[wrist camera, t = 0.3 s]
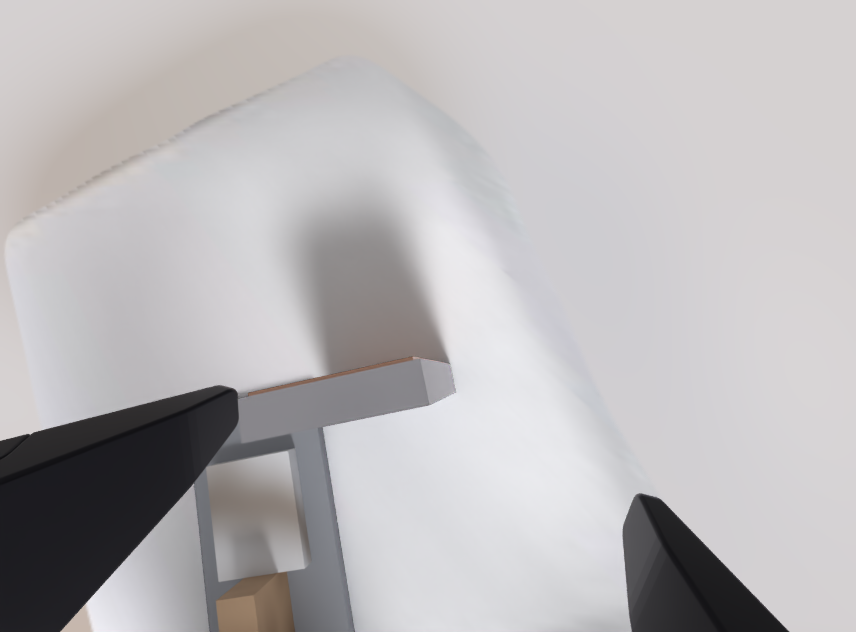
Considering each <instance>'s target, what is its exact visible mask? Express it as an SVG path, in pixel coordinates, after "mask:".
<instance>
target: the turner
mask: <svg viewBox="0 0 856 632" xmlns="http://www.w3.org/2000/svg"><path fill="white" fill-rule="evenodd" d="M206 471H207V480H208V490H209V499H210V508H211V517H212V526H213V536H214V545H215V554H216V563H217V572H218V582H222V581H228V580H235V579H241V578H243V579H242V580H241V581H240V582H238V583H237V584H236V585H235V586H234V587H232V588H231V589H230V590H229V591H227V592H226V593H225V594H224V595H222V596H221V597H220V598H219V599H218V600H216V607H217V616H218V625H219V632H295V627H294V620H293V613H292V605H291V598H290V590H289V583H288V576H287V571H293V570H299V569H305V568H306V567H307V566H308V565H309V564H310V563H311V562H312V560H311V553H310V546H309V539H308V533H307V526H306V519H305V512H304V505H303V498H302V491H301V484H300V478H299V471H298V464H297V457H296V450H295V448H293V449H288V450H283V451H278V452H273V453H268V454H263V455H258V456H253V457H248V458H243V459H238V460H233V461H227V462H222V463H217V464H214V465H211V466H208V467H206Z"/></svg>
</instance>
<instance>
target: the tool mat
mask: <svg viewBox="0 0 856 632" xmlns="http://www.w3.org/2000/svg"><path fill="white" fill-rule="evenodd" d="M293 448H295V450H296V457H297V464H298V471H299V478H300V484H301V491H302V498H303V505H304V512H305V519H306V526H307V533H308V539H309V546H310V553H311V560H312V562H311V563H310V564H309V565H308V566H307V567H306V568H305V569H299V570H293V571H287V576H288V583H289V590H290V598H291V605H292V613H293V620H294V627H295V632H354V626H353V619H352V613H351V607H350V600H349V594H348V588H347V581H346V575H345V569H344V562H343V556H342V550H341V543H340V537H339V531H338V524H337V518H336V512H335V505H334V499H333V493H332V486H331V480H330V474H329V467H328V461H327V454H326V448H325V442H324V435H323V429H322V427H320V428H315V429H310V430H305V431H301V432H296V433H291V434H286V435H281V436H276V437H271V438H266V439H261V440H256V441H252V442H247V443H242V442H241V434H240V426H239V421H238V424H237V426H236V428H235V430H234V431H233V432H232V434H231V435H230V436H229V438H228V439H227V440H226V442H225V443H224V444H223V446H222V447H221V448H220V450H219V451H218V452H217V454H216V455H215V456H214V458H213V459H212V460H211V462H210V463H209V464H208V466H211V465H214V464H217V463H222V462H227V461H233V460H238V459H243V458H248V457H253V456H258V455H263V454H268V453H273V452H278V451H283V450H288V449H293ZM208 466H207V467H208ZM194 486H195V495H196V505H197V515H198V524H199V534H200V544H201V554H202V563H203V573H204V583H205V592H206V602H207V612H208V621H209V631H210V632H219V625H218V616H217V607H216V600H218V599H219V598H220V597H221V596H222V595H224V594H225V593H226V592H227V591H229V590H230V589H231V588H232V587H234V586H235V585H236V584H237V583H238V582H240V581H241V580H242V579H243V578H241V579H235V580H228V581H222V582H218V572H217V563H216V554H215V545H214V536H213V526H212V517H211V508H210V499H209V490H208V480H207V471H206V468H205V470H204V471H203V472H202V474H201V475H200V476H199V477H198V479H197V480H196V481H195V482H194Z"/></svg>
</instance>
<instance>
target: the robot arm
mask: <svg viewBox="0 0 856 632" xmlns="http://www.w3.org/2000/svg"><path fill="white" fill-rule="evenodd" d="M238 421H239V409H238V394H237V392H236V390H235V389H233V388H230V387H226V386H222V385H217V386H213V387H209V388H205V389H201V390H197V391H193V392H189V393H186V394H182V395H178V396H174V397H170V398H166V399H162V400H158V401H154V402H151V403H147V404H143V405H139V406H135V407H131V408H127V409H123V410H119V411H115V412H112V413H108V414H104V415H100V416H96V417H92V418H88V419H84V420H80V421H77V422H73V423H69V424H65V425H61V426H57V427H53V428H49V429H45V430H41V431H38V432H34V433H32V434H31V435H30V434H26V435H22V436H18V437H14V438H10V439H6V440H2V441H0V632H60V631H61V630H62V629H63V628H64V627H65V626H66V625H67V624H68V623H69V621H70V620H71V619H72V618H73V617H74V616H75V614H77V613H78V611H79V610H80V609H81V608H82V607H83V606H84V605H85V604H86V603H87V601H88V600H89V599H90V598H91V597H92V596H93V595H94V594H95V593H96V591H97V590H98V589H99V588H100V587H101V586H102V585H103V584H104V583H105V581H106V580H107V579H108V578H109V577H110V576H111V575H112V574H113V573H114V571H115V570H116V569H117V568H118V567H119V566H120V565H121V564H122V563H123V561H124V560H125V559H126V558H127V557H128V556H129V555H130V554H131V553H132V552H133V550H134V549H135V548H136V547H137V546H138V545H139V544H140V543H141V542H142V540H143V539H144V538H145V537H146V536H147V535H148V534H149V533H150V532H151V530H152V529H153V528H154V527H155V526H156V525H157V524H158V523H159V522H160V520H161V519H162V518H163V517H164V516H165V515H166V514H167V513H168V512H169V510H170V509H171V508H172V507H173V506H174V505H175V504H176V503H177V502H178V500H179V499H180V498H181V497H182V496H183V495H184V494H185V493H186V492H187V490H188V489H189V488H190V487H191V486H192V485H193V484H194V482H195V481H196V480H197V479H198V477H199V476H200V475H201V474H202V472H203V471H204V470H205V468H206V467H207V466H208V464H209V463H210V462H211V460H212V459H213V458H214V456H215V455H216V454H217V452H218V451H219V450H220V448H221V447H222V446H223V444H224V443H225V442H226V440H227V439H228V438H229V436H230V435H231V434H232V432H233V431H234V430H235V428H236V426H237V424H238ZM623 547H624V559H625V571H626V583H627V595H628V607H629V616H630V622H631V628H632V632H789V631H788V630H787V629H786V628H785V627H784V626H783V625H782V624H781V623H780V622H779V621H778V620H777V619H776V618H775V617H774V615H772V613H770V611H769V610H768V609H767V608H766V607H765V606H764V605H763V604H762V603H761V602H760V601H759V600H758V599H757V598H756V597H755V596H754V595H753V594H752V593H751V592H750V591H749V590H748V589H747V588H746V587H745V586H744V585H743V583H742V582H741V581H740V580H739V579H738V578H737V577H736V576H735V575H734V574H733V573H732V572H731V571H730V570H729V569H728V568H727V567H726V566H725V565H724V564H723V563H722V562H721V561H720V560H719V559H718V558H717V557H716V556H715V555H714V554H713V553H712V552H711V550H709V548H708V547H707V546H706V545H705V544H704V543H703V542H702V541H701V540H700V539H699V538H698V537H697V536H696V535H695V534H694V533H693V532H692V531H691V530H690V529H689V528H688V527H687V526H686V525H685V524H684V523H683V522H682V521H681V519H680V518H679V517H678V516H677V515H676V514H675V513H674V512H673V511H672V510H671V509H670V508H669V507H668V506H667V505H666V504H665V503H664V502H663V501H662V500H661V499H659V498H657V497H653V496H649V495H645V494H641V493H639V494H636V496H635V497H634V499H633V501H632V504H631V506H630V509H629V511H628V514H627V517H626V519H625V522H624V525H623Z"/></svg>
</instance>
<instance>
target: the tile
mask: <svg viewBox="0 0 856 632" xmlns="http://www.w3.org/2000/svg"><path fill="white" fill-rule="evenodd" d="M454 393H456V389H455V385H454V380H453V375H452V371H451V366H450V364H448V363H444V362H440V361H435V360H429V359H424V358H419V357H413V356H412V357H408V358H403V359H399V360H394V361H390V362H385V363H381V364H376V365H372V366H367V367H363V368H358V369H354V370H349V371H345V372H340V373H336V374H331V375H326V376H322V377H317V378H313V379H308V380H304V381H299V382H295V383H290V384H286V385H281V386H277V387H272V388H268V389H263V390H259V391H254V392H250V393H248V397H243V398H239V399H238V409H239V426H240V434H241V442H242V443H247V442H252V441H256V440H261V439H266V438H271V437H276V436H281V435H286V434H291V433H296V432H301V431H305V430H310V429H315V428H320V427H325V426H330V425H335V424H340V423H345V422H350V421H354V420H359V419H364V418H369V417H374V416H379V415H384V414H389V413H394V412H399V411H403V410H408V409H413V408H418V407H423V406H428V405H431V404H433V403H435V402H437V401H439V400H441V399H443V398H445V397H447V396H450V395H452V394H454Z"/></svg>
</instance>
